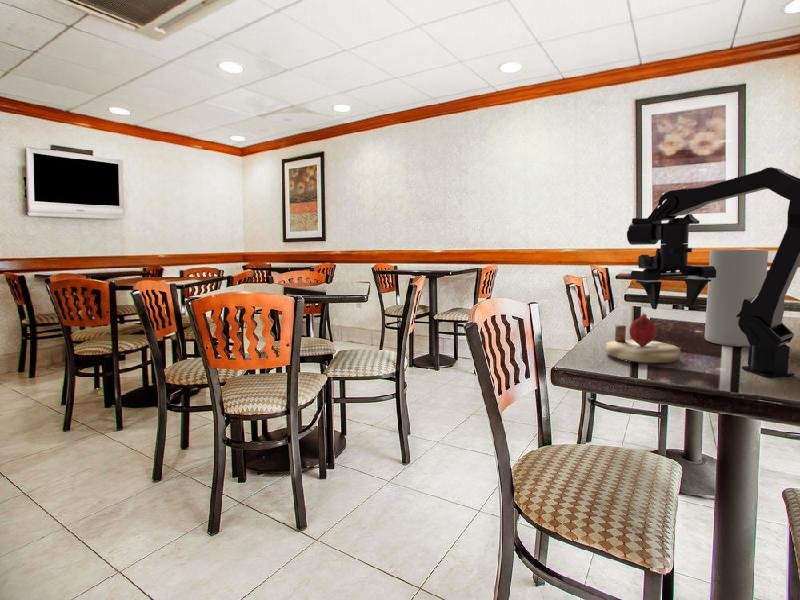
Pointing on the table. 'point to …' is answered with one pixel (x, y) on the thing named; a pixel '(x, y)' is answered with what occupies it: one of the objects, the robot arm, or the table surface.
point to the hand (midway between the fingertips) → (671, 308)
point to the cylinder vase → (732, 292)
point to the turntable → (640, 349)
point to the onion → (643, 330)
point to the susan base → (646, 362)
